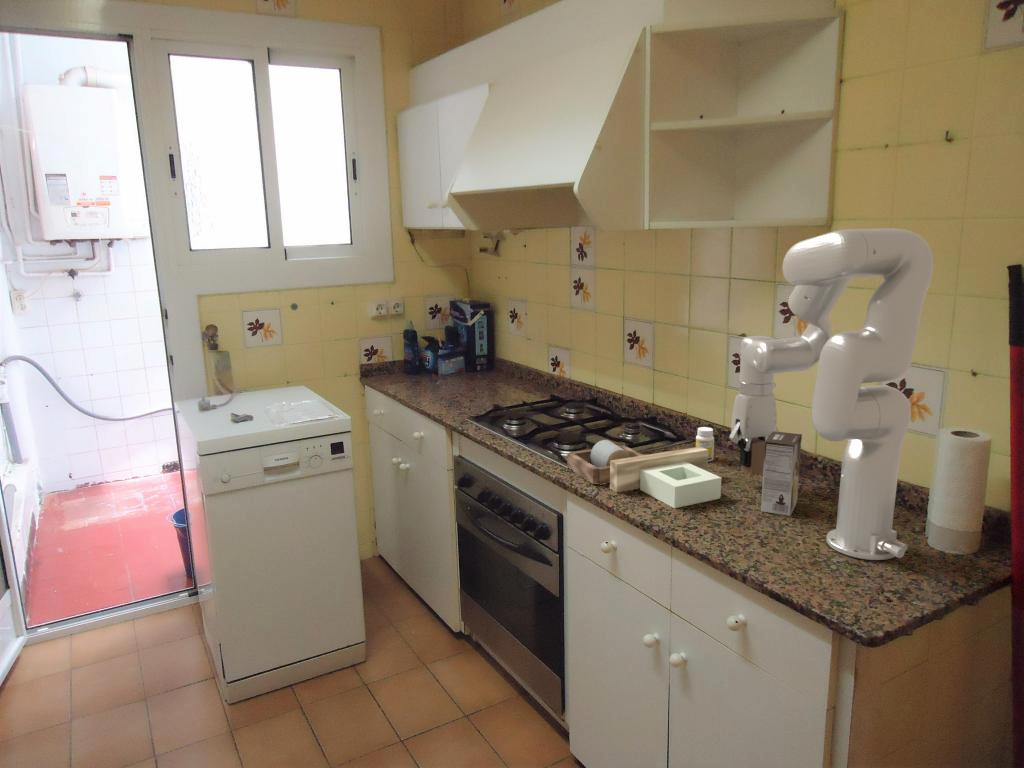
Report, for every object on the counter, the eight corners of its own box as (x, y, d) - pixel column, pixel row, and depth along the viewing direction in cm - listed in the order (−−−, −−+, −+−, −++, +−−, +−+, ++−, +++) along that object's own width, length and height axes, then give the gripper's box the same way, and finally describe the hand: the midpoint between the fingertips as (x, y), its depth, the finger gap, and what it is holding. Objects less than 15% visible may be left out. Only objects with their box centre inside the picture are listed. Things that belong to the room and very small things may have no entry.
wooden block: (740, 471, 171) (741, 439, 169) (753, 469, 172) (755, 437, 171) (751, 475, 167) (753, 443, 166) (765, 473, 169) (766, 440, 167)
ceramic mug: (607, 479, 176) (608, 449, 174) (589, 470, 183) (590, 441, 181) (642, 473, 180) (643, 444, 179) (623, 464, 188) (624, 436, 186)
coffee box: (767, 497, 163) (772, 430, 159) (797, 502, 160) (802, 433, 156) (760, 511, 155) (764, 440, 151) (791, 517, 152) (796, 444, 148)
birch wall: (707, 476, 177) (708, 449, 175) (616, 492, 167) (616, 464, 165) (699, 473, 179) (700, 446, 178) (609, 488, 170) (610, 460, 168)
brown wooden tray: (654, 475, 178) (654, 460, 177) (594, 486, 171) (594, 470, 171) (622, 458, 191) (622, 444, 191) (566, 467, 185) (566, 452, 184)
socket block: (720, 498, 163) (721, 477, 162) (674, 508, 157) (675, 486, 156) (684, 480, 174) (684, 461, 173) (639, 489, 169) (640, 469, 168)
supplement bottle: (699, 455, 193) (701, 425, 192) (716, 458, 190) (717, 428, 189) (691, 459, 190) (693, 429, 188) (708, 463, 187) (710, 432, 185)
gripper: (772, 383, 173) (769, 455, 176) (716, 389, 166) (714, 465, 170) (796, 388, 166) (792, 463, 169) (738, 395, 160) (735, 473, 163)
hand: (753, 463), depth 169 cm, fingers closed on wooden block, 4 cm apart
